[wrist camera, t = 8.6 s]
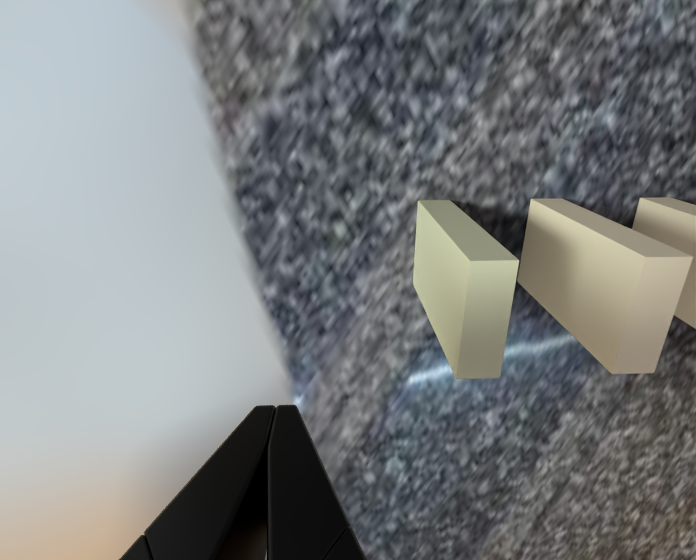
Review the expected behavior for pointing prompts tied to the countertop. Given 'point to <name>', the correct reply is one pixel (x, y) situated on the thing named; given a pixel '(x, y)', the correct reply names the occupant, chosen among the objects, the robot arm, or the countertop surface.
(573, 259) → the domino
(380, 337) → the countertop surface
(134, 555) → the robot arm
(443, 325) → the domino
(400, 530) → the countertop surface
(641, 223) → the domino
